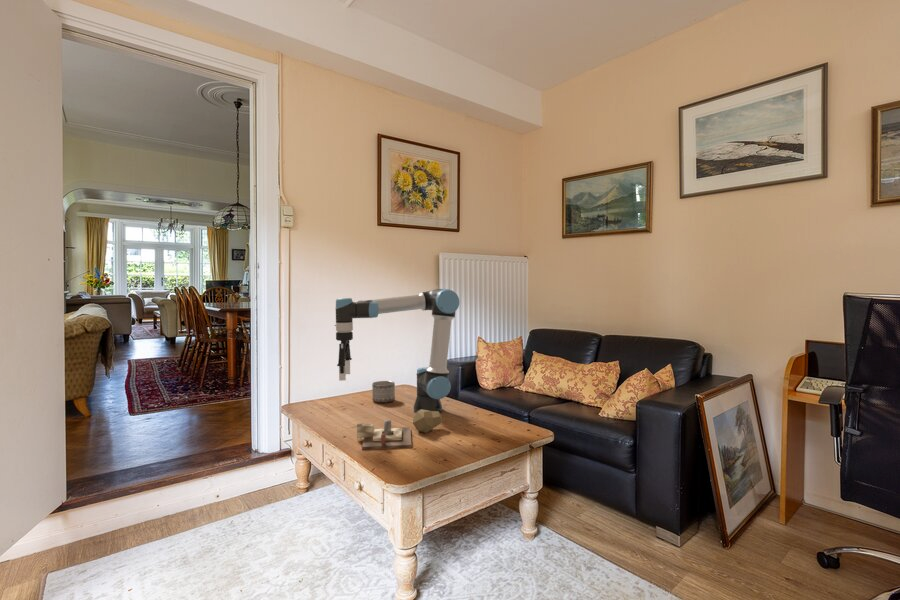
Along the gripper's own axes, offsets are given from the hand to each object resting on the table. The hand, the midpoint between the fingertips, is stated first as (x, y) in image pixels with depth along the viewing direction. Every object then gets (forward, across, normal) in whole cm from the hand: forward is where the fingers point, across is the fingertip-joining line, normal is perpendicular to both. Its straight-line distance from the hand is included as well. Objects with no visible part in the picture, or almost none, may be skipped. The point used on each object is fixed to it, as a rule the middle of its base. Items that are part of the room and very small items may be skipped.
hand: (344, 377), depth 202 cm
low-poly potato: (+24, +6, +38) cm, 46 cm away
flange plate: (+22, +16, +17) cm, 32 cm away
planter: (+24, -46, +14) cm, 54 cm away
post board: (+24, +16, +20) cm, 35 cm away
